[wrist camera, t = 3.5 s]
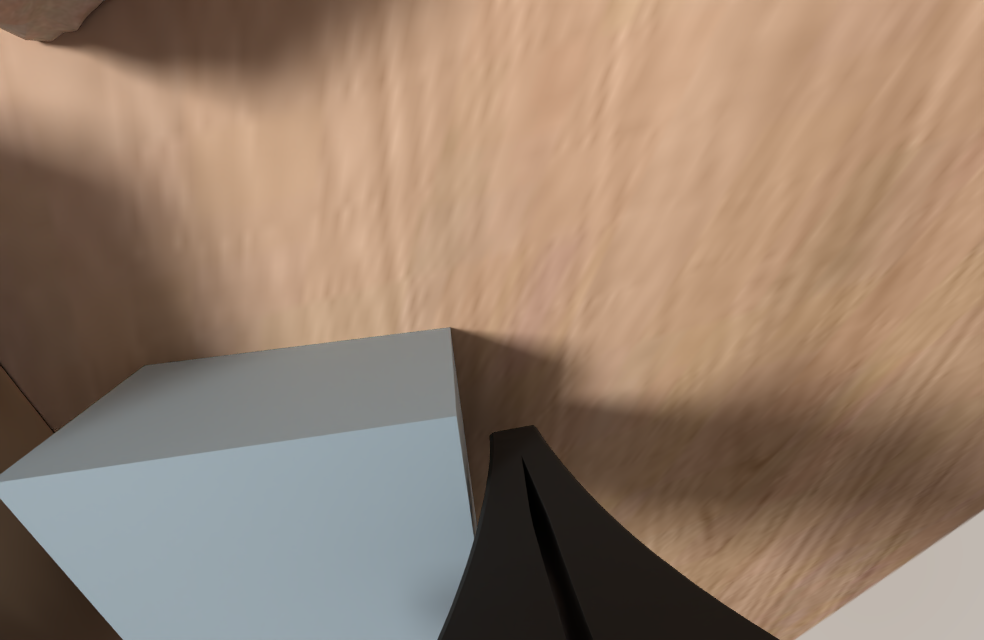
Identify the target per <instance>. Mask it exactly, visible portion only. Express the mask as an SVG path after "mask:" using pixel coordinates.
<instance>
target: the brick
mask: <svg viewBox="0 0 984 640" xmlns="http://www.w3.org/2000/svg"><path fill="white" fill-rule="evenodd" d="M103 1H105V0H0V28H1V29H3V30H5V31H8V32H10V33H12V34H14V35H16V36H18V37H20V38H22V39H25V40H35V41H53V40H54V39H56V38H57V37H58V36H60V35H61V34H62V33H64V32H74V31H76V30H78V28H79V27H80V26H81V24H82V23H83V21H84V20H85V18H86V17H87V16H88V15H89V14H90V13H91V12H92V11H93V10H94V9H95V8H97V7H98V6H99V5H100V4H101V3H102V2H103Z"/></svg>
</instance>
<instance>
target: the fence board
mask: <svg viewBox="0 0 984 640" xmlns="http://www.w3.org/2000/svg"><path fill="white" fill-rule="evenodd" d="M53 434H54V433H53V432H52V430H51V429H50V428H49V427H48V425H47V424H46V423H45V421H44V420H43V419H42V418H41V416H40V415H39V414H38V413H37V411H36V410H35V409H34V408H33V406H32V405H31V404H30V402H29V401H28V400H27V399H26V397H25V396H24V395H23V394H22V392H21V391H20V390H19V389H18V387H17V386H16V385H15V383H14V382H13V381H12V380H11V378H10V377H9V376H8V375H7V373H6V372H5V371H4V370H3V368H2V367H1V366H0V474H1V473H3V472H4V471H5V470H7V469H8V468H9V467H11V466H12V465H13V464H15V463H16V462H17V461H19V460H20V459H21V458H23V457H24V456H25V455H27V454H28V453H29V452H30V451H32V450H33V449H34V448H36V447H37V446H38V445H40V444H41V443H42V442H44V441H45V440H46V439H48V438H49V437H50V436H52V435H53ZM0 640H123V639H122V638H121V637H120V636H119V635H118V633H117V632H116V631H115V630H114V629H113V628H112V626H111V625H110V624H109V623H108V622H107V621H106V620H105V618H104V617H103V616H102V615H101V614H100V613H99V612H98V610H97V609H96V608H95V607H94V606H93V605H92V603H91V602H90V601H89V600H88V599H87V598H86V597H85V595H84V594H83V593H82V592H81V591H80V590H79V589H78V587H77V586H76V585H75V584H74V583H73V582H72V580H71V579H70V578H69V577H68V576H67V575H66V574H65V572H64V571H63V570H62V569H61V568H60V567H59V566H58V564H57V563H56V562H55V561H54V560H53V559H52V557H51V556H50V555H49V554H48V553H47V552H46V551H45V549H44V548H43V547H42V546H41V545H40V544H39V543H38V541H37V540H36V539H35V538H34V537H33V536H32V534H31V533H30V532H29V531H28V530H27V529H26V528H25V526H24V525H23V524H22V523H21V522H20V521H19V519H18V518H17V517H16V516H15V515H14V514H13V513H12V511H11V510H10V509H9V508H8V507H7V506H6V505H5V503H4V502H3V501H2V500H1V499H0Z"/></svg>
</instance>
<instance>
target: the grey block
mask: <svg viewBox="0 0 984 640" xmlns="http://www.w3.org/2000/svg"><path fill="white" fill-rule="evenodd" d="M0 499H1V500H2V501H3V502H4V503H5V505H6V506H7V507H8V508H9V509H10V510H11V511H12V513H13V514H14V515H15V516H16V517H17V518H18V519H19V521H20V522H21V523H22V524H23V525H24V526H25V528H26V529H27V530H28V531H29V532H30V533H31V534H32V536H33V537H34V538H35V539H36V540H37V541H38V543H39V544H40V545H41V546H42V547H43V548H44V549H45V551H46V552H47V553H48V554H49V555H50V556H51V557H52V559H53V560H54V561H55V562H56V563H57V564H58V566H59V567H60V568H61V569H62V570H63V571H64V572H65V574H66V575H67V576H68V577H69V578H70V579H71V580H72V582H73V583H74V584H75V585H76V586H77V587H78V589H79V590H80V591H81V592H82V593H83V594H84V595H85V597H86V598H87V599H88V600H89V601H90V602H91V603H92V605H93V606H94V607H95V608H96V609H97V610H98V612H99V613H100V614H101V615H102V616H103V617H104V618H105V620H106V621H107V622H108V623H109V624H110V625H111V626H112V628H113V629H114V630H115V631H116V632H117V633H118V635H119V636H120V637H121V638H122V639H123V640H437V639H438V637H439V634H440V632H441V630H442V627H443V625H444V623H445V620H446V618H447V616H448V613H449V611H450V608H451V606H452V603H453V600H454V598H455V595H456V592H457V590H458V587H459V584H460V581H461V578H462V576H463V573H464V570H465V567H466V564H467V561H468V558H469V554H470V551H471V548H472V545H473V541H474V538H475V534H476V530H477V522H476V514H475V507H474V500H473V492H472V485H471V478H470V470H469V463H468V456H467V448H466V441H465V433H464V426H463V419H462V411H461V404H460V397H459V389H458V382H457V375H456V367H455V360H454V352H453V345H452V338H451V330H450V327H449V328H441V329H433V330H425V331H417V332H409V333H401V334H393V335H385V336H377V337H369V338H361V339H353V340H345V341H337V342H329V343H321V344H313V345H305V346H297V347H289V348H281V349H273V350H265V351H257V352H249V353H241V354H232V355H224V356H216V357H208V358H200V359H192V360H184V361H176V362H168V363H160V364H152V365H144V366H143V367H142V368H140V369H139V370H138V371H136V372H135V373H134V374H132V375H131V376H130V377H128V378H127V379H126V380H125V381H123V382H122V383H121V384H119V385H118V386H117V387H115V388H114V389H113V390H111V391H110V392H109V393H107V394H106V395H105V396H103V397H102V398H101V399H99V400H98V401H97V402H95V403H94V404H93V405H91V406H90V407H89V408H87V409H86V410H85V411H83V412H82V413H81V414H79V415H78V416H77V417H76V418H74V419H73V420H72V421H70V422H69V423H68V424H66V425H65V426H64V427H62V428H61V429H60V430H58V431H57V432H56V433H54V434H53V435H52V436H50V437H49V438H48V439H46V440H45V441H44V442H42V443H41V444H40V445H38V446H37V447H36V448H34V449H33V450H32V451H30V452H29V453H28V454H27V455H25V456H24V457H23V458H21V459H20V460H19V461H17V462H16V463H15V464H13V465H12V466H11V467H9V468H8V469H7V470H5V471H4V472H3V473H1V474H0Z"/></svg>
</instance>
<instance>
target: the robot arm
mask: <svg viewBox="0 0 984 640" xmlns="http://www.w3.org/2000/svg"><path fill="white" fill-rule="evenodd" d="M489 438H490V462H489V472H488V478H487V484H486V490H485V496H484V501H483V505H482V510H481V514H480V518H479V522H478V527H477V530H476V534H475V538H474V541H473V545H472V548H471V551H470V554H469V558H468V561H467V564H466V567H465V570H464V573H463V576H462V578H461V581H460V584H459V587H458V590H457V592H456V595H455V598H454V600H453V603H452V606H451V608H450V611H449V613H448V616H447V618H446V620H445V623H444V625H443V627H442V630H441V632H440V634H439V637H438V639H437V640H779V639H778V638H776V637H774V636H773V635H771V634H770V633H768V632H766V631H765V630H763V629H762V628H760V627H758V626H757V625H755V624H754V623H752V622H750V621H749V620H747V619H746V618H744V617H743V616H741V615H740V614H738V613H737V612H735V611H734V610H732V609H730V608H729V607H727V606H726V605H724V604H723V603H722V602H720V601H719V600H717V599H716V598H714V597H713V596H711V595H710V594H709V593H707V592H706V591H704V590H703V589H701V588H700V587H698V586H697V585H696V584H694V583H693V582H692V581H690V580H689V579H688V578H686V577H685V576H684V575H682V574H681V573H680V572H678V571H677V570H676V569H674V568H673V567H672V566H670V565H669V564H668V563H667V562H665V561H664V560H663V559H661V558H660V557H659V556H657V555H656V554H655V553H653V552H652V551H651V550H650V549H649V548H647V547H646V546H645V545H644V544H643V543H641V542H640V541H639V540H638V539H637V538H636V537H634V536H633V535H632V534H631V533H630V532H629V531H628V530H626V529H625V528H624V527H623V526H622V525H621V524H620V523H619V522H617V521H616V520H615V519H614V518H613V517H612V516H611V515H610V514H609V513H608V512H607V511H606V510H605V509H604V508H603V507H602V506H601V505H600V504H599V503H598V502H597V501H596V500H595V499H594V498H593V497H592V496H591V495H590V494H589V493H588V492H587V491H586V490H585V489H584V488H583V486H582V485H581V484H580V483H579V482H578V481H577V480H576V479H575V477H574V476H573V475H572V474H571V473H570V472H569V471H568V469H567V468H566V467H565V466H564V465H563V464H562V462H561V461H560V460H559V459H558V457H557V456H556V455H555V453H554V452H553V451H552V450H551V448H550V447H549V446H548V444H547V443H546V441H545V440H544V438H543V437H542V435H541V434H540V432H539V431H538V429H537V428H536V427H535V426H533V425H531V426H525V427H520V428H515V429H509V430H504V431H498V432H493V433H492V434H491V435H490V436H489Z"/></svg>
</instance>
